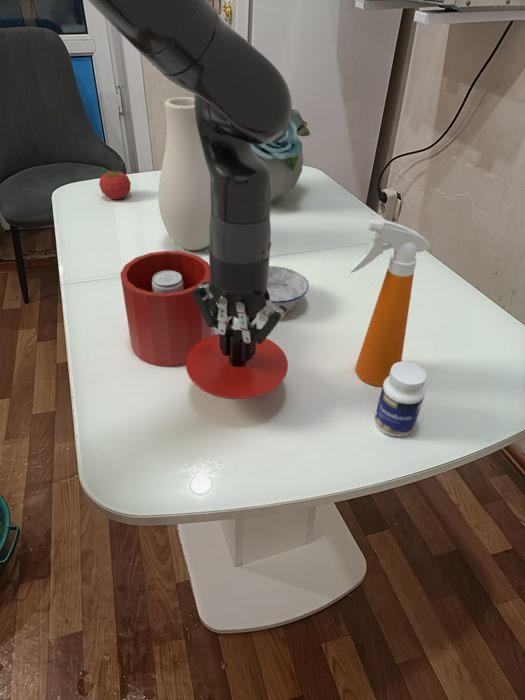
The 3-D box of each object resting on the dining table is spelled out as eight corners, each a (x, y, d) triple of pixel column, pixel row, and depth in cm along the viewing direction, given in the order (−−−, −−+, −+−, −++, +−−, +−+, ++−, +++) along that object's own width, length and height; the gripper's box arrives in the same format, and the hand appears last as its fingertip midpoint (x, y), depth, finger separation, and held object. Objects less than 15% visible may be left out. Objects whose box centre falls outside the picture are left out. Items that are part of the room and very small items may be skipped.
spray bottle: (329, 359, 85) (352, 209, 69) (392, 358, 86) (429, 209, 70) (337, 388, 80) (364, 232, 63) (404, 386, 81) (448, 232, 64)
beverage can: (152, 342, 86) (145, 281, 79) (167, 327, 90) (161, 267, 82) (177, 350, 85) (172, 288, 77) (191, 334, 88) (188, 274, 81)
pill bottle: (370, 431, 73) (383, 378, 67) (378, 405, 77) (391, 353, 71) (410, 443, 71) (427, 391, 65) (416, 416, 76) (433, 364, 69)
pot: (184, 376, 80) (179, 305, 72) (114, 350, 85) (101, 280, 77) (227, 331, 90) (227, 263, 82) (162, 310, 95) (156, 243, 86)
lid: (259, 416, 67) (262, 382, 64) (166, 380, 72) (162, 346, 68) (302, 355, 78) (306, 322, 74) (218, 327, 83) (218, 295, 79)
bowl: (268, 331, 91) (269, 308, 88) (225, 299, 98) (225, 277, 95) (320, 307, 97) (323, 285, 94) (276, 279, 105) (278, 258, 102)
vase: (151, 242, 116) (135, 98, 97) (200, 226, 123) (194, 90, 105) (185, 266, 108) (175, 114, 89) (236, 247, 115) (236, 104, 97)
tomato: (119, 205, 131) (115, 176, 126) (95, 199, 134) (90, 170, 129) (138, 195, 137) (134, 166, 132) (114, 189, 139) (110, 161, 135)
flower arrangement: (319, 193, 143) (329, 98, 128) (283, 226, 125) (291, 120, 110) (240, 176, 151) (241, 85, 136) (196, 205, 133) (192, 104, 118)
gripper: (175, 245, 62) (182, 355, 73) (278, 274, 58) (269, 386, 69) (206, 223, 68) (209, 328, 79) (303, 248, 63) (291, 356, 74)
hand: (237, 355), depth 74 cm, fingers closed on lid, 2 cm apart
